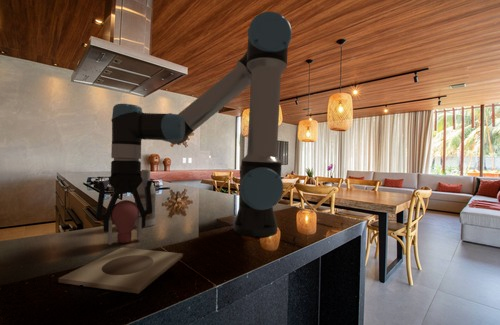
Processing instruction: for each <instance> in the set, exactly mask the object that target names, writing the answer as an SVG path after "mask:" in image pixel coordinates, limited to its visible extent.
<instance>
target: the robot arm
mask: <svg viewBox="0 0 500 325" xmlns="http://www.w3.org/2000/svg"><path fill="white" fill-rule="evenodd" d="M292 34H293V33H292V27H291V23H290V22H289V20H288V19H287V18H285V16H284V15H282V14H281V13H279V12H275V11H263V12H260V13H258V14H257V15H256V16H254V17H253V19H252V20H251V22H250V24H249V27H248V29H247V45H246V46H247V48H246V51H245V53H244V55H243V56H242V57H241V58H240V59H239V60H238V61H236V67H234V68H233V69H231V70H230V71H229V72H228V73H227V74H226V75H225V76H223V77H222V78H221V79H219V80H218V81H217V82H216V83H215V84H214V85H212V86H211V87H210V88H208V89H207V90H206V91H205V92H204V93H202V94H201V95H200V96H199V97H198V98H196V99H195V100H193V102H191V103H190V104H189V105H187V106H186V107H185V108H183V109H182V111H180V112H179V113H178V114H177V113H171V112H170V113H153V112H151V113H150V112H149V113H148V112H147V113H146V112H143V109H142V107H141V106H139V105H136V104H132V103H130V104H129V103H116V104H114V106H113V108H112V116H111V120H110V121H111V154H110V155H111V159H113V160H111V163H110V177H109V178H108V179H107V180H99V181H98V182H97V185H98V190H99V192H98V197H97V198H98V199H97V204H96V206H97V207H96V211H95V217H96V219H98V220H99V219H100V220H102V221H103V232H104V233H107V244H108V245H112V244H113V242H112V241H113V220H112V218H111V213H112V211H113V208H114V206H115V204H116V203H117V200H118V198H119V197H120V194H125V193H129V194H132V197H133V199H134V203H135V202H136V205H137V206H138V209H139V212H140V216H138V218H137V227H136V239H137V240H138V241H141V240H142V228H146V227H145V218H146V215H148V214H151V213H152V201H151V190H150V188H151V184H152V183H153V182H152V180H151V179H150V180H151V181H150V180H143V179H142V177H141V171H142V169H141V168H142V162H141V161H140V160H139V159H142V140H149V141H150V140H153V141H154V140H155V141H164V142H166V143H167V142H168V143H170V144H174V145H180V144H183V143H185V142H186V141H187V139H188V138H189V136H190V135H191V134H192V133H193V132H195V131H196V130H197V129H198V128H199V127H201V126H202V125H203V124H204V123H205V122H207V121H208V120H209V119H210V118H212V117H213V116H214V115H215V114H217V113H218V112H219V111H220V110H222V109H223V108H224V107H225V106H227V105H228V104H229V103H230V102H232V101H233V99H235V98H236V97H237V96H238V95H241V93H242V92H244V91H245V90H246V89H247V88H248V87H250V93H249V94H250V96H249V110H248V111H249V113H248V129H247V130H248V132H247V150H246V151H247V152H246V154H245V156H244V158H242V159H241V165H240V167H239V168H240V169H239V200H238V201H239V205H238V206H239V207H238V211H237V213H236V217H235V219H234V222H233V231H234V233H236V234H238V235H242V236H245V237H246V236H247V237H269V236H273V235H275V234H277V232H278V221H277V219H276V214H275V211H274V208H273V207H275V206H276V205H277V204H278V203H279V201H281V199H282V197H283V194H284V183H283V179H282V161H281V160H280V159H279V157H278V137H279V121H280V120H279V117H280V101H281V99H280V98H281V82H282V73H284V72H285V71H286V70H287V67H288V54H289V52H288V51H289V50H288V49H289V44H290V43H291V41H292ZM141 183H143V186H144V187H145V188H144V189H145V200H146V210H144V208H143V205H142V202H141V200H140V197H139V194H138V191H137V188H138V186H139V185H140V184H141ZM109 184H110V186H112V188H113V189H114V191H113V193H112V196H111V198H110V200H109V202H108V205H107V207H106V209H105V212H104V213H103V209H104V208H103V207H104V201H105V194H106V189H107V188H109V187H108V185H109Z"/></svg>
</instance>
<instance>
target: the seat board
mask: <svg viewBox="0 0 500 325" xmlns="http://www.w3.org/2000/svg"><path fill="white" fill-rule="evenodd" d="M183 256H184V254H183V253H181V252H179V253H178V252H169V251H162V250H161V251H160V250H150V249H141V248H131V247H120V248H118V249H116V250H114V251H111V252H110V253H108V254H106V255H104V256H102V257H100V258H97V259H95V260H94V261H92V262H89V263H87V264H85V265H83V266H81V267H79V268H77V269H75V270H72V271H70V272H69V273H66V274H64V275H62V276H60V277H58V283H60V284H66V285H68V284H69V285H74V286H80V285H83V286H82V287H88V288H95V289H96V288H97V289H103V290H110V291H116V292H124V293H133V294H140V293H141V292H142V291H144V289H146V288H147V287H148V286H149V285H151V284H152V283H154V281H156V280H157V279H158V278H159V277H160V276H162V275H163V274H164V273H165V272H166V271H168V270H169V269H170V268H171V267H173V266H174V265H175V264H176V263H178V261H180V260H181V259H182V258H183Z"/></svg>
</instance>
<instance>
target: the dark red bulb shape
mask: <svg viewBox="0 0 500 325" xmlns="http://www.w3.org/2000/svg"><path fill="white" fill-rule="evenodd" d="M138 215H139V209H138V206H137V205H136V204H135V201H132V200H128V199H127V200H126V199H123V200H120V201H118V202H116V203H115V206H114V208H113V211H112V213H111V215H110V218H111V219H112V223H113V224H114V225H115V227H116V232H117V236H116V238H117V241H116V242H117V243H123V244H125V243H128V242H131V241H132V235H133V234H132V232H133V230H134V226H135V225H134V223H135V222H136V220H137V218H138Z"/></svg>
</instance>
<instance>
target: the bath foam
mask: <svg viewBox="0 0 500 325" xmlns="http://www.w3.org/2000/svg"><path fill="white" fill-rule="evenodd" d="M141 177H142V179H143V180H150V181H152V180H151V170H150V169H141ZM144 188H145V187H144V186H143V183H141V184H140V185H139V186H138V188H137V191H138V194H139V197H140V200H141V202H142V205H143V208H144V210H146V200H145V189H144ZM150 190H151V201H152V213H151V214H148V215H146V218H145V227H144V228H147V227H148V226H149V227H153V226H154V225H155V224H156V206H157V205H156V203H157V202H156V200H157V199H156V198H157V195H156V194H157V193H156V187H155V185H154V184H153V182H152V184H151V188H150ZM134 203H135V204H136V202H135V201H134ZM138 216H140V212H139V215H138ZM133 226H135V227H136V228H137V220H136V222H135V223H134V225H133Z"/></svg>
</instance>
